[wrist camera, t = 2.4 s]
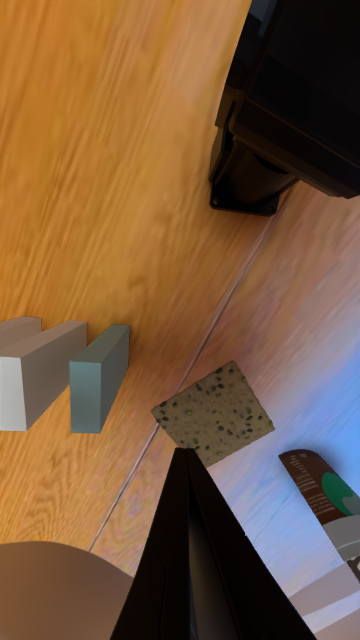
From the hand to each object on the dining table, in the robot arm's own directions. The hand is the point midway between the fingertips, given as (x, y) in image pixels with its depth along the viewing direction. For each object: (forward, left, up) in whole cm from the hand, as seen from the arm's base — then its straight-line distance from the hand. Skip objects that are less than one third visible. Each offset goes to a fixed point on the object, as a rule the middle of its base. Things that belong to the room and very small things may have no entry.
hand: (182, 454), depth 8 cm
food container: (-21, +16, -13) cm, 30 cm away
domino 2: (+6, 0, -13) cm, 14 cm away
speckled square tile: (-6, +9, -13) cm, 17 cm away
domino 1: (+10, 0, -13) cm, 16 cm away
